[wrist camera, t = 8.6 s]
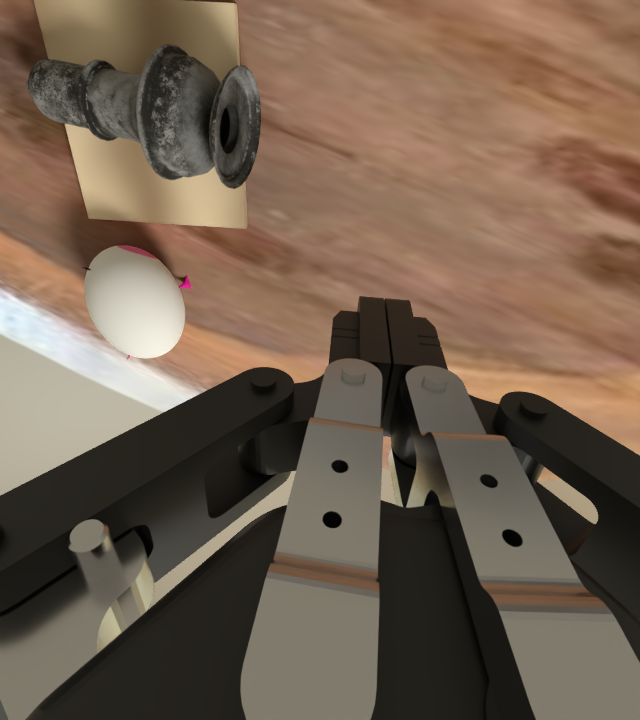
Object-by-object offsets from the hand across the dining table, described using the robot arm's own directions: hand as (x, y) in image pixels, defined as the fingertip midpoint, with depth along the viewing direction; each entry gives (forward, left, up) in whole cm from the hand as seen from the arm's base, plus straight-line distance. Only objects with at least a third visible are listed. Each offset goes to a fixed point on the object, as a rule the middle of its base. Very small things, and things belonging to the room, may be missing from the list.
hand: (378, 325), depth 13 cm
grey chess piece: (+6, -4, -12) cm, 14 cm away
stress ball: (+15, +7, -16) cm, 23 cm away
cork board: (+12, -3, -16) cm, 20 cm away
